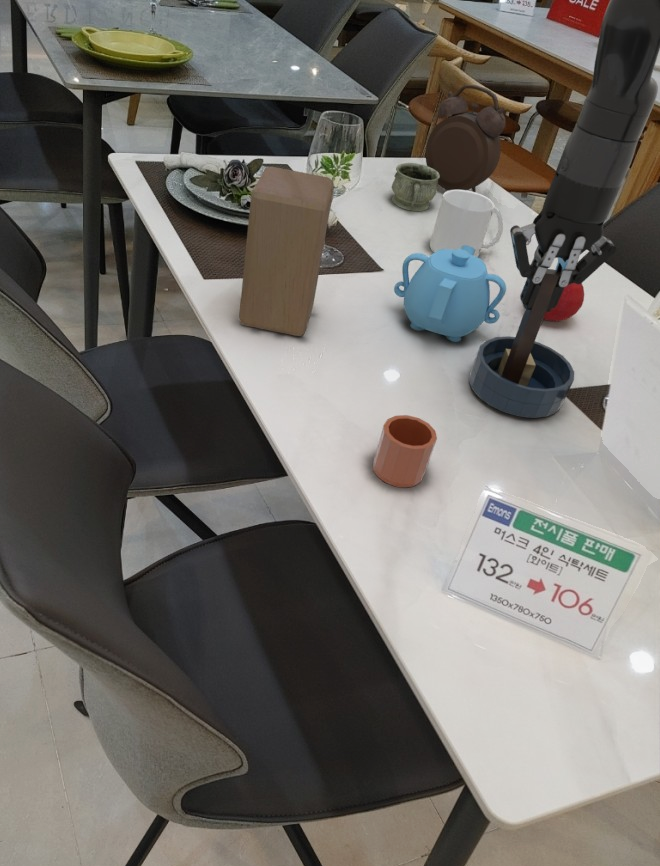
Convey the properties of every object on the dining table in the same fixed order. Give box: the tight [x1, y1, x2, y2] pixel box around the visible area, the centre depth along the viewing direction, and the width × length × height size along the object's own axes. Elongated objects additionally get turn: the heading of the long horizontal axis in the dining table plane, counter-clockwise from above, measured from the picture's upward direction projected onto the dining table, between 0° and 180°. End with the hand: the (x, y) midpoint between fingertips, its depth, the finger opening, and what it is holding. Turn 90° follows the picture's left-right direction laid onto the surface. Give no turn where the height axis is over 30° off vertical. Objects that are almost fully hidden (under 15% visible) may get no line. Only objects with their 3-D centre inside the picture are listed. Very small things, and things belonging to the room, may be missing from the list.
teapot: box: [393, 245, 507, 343], centre depth 116 cm, size 20×17×12 cm
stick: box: [501, 268, 560, 384], centre depth 102 cm, size 2×2×16 cm
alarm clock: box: [425, 84, 506, 193], centre depth 153 cm, size 15×7×20 cm, turn 50°
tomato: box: [543, 282, 585, 323], centre depth 123 cm, size 9×9×8 cm
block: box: [498, 349, 536, 387], centre depth 109 cm, size 4×4×4 cm
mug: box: [429, 190, 504, 258], centre depth 136 cm, size 12×9×9 cm
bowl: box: [468, 335, 575, 419], centre depth 107 cm, size 13×13×5 cm
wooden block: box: [238, 165, 335, 337], centre depth 108 cm, size 10×10×20 cm
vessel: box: [391, 162, 440, 212], centre depth 151 cm, size 12×9×6 cm
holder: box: [372, 414, 438, 488], centre depth 91 cm, size 6×6×6 cm
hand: (535, 307), depth 100 cm, fingers closed on stick, 2 cm apart
